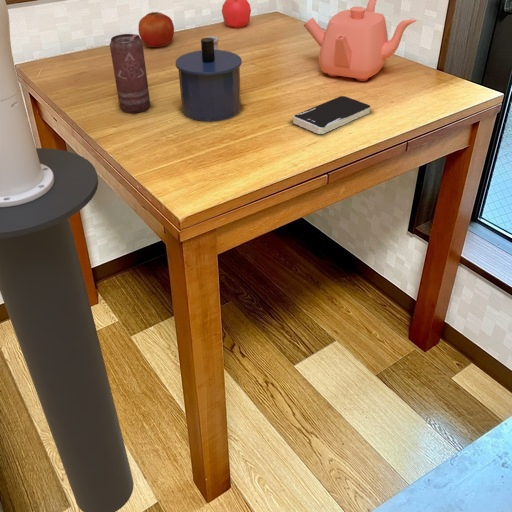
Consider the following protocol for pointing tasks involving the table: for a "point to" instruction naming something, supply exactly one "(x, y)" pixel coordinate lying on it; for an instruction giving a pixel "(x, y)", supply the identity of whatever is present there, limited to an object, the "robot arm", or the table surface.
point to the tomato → (156, 29)
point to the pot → (210, 95)
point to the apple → (236, 13)
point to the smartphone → (331, 114)
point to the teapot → (355, 42)
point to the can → (130, 73)
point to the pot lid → (208, 60)
